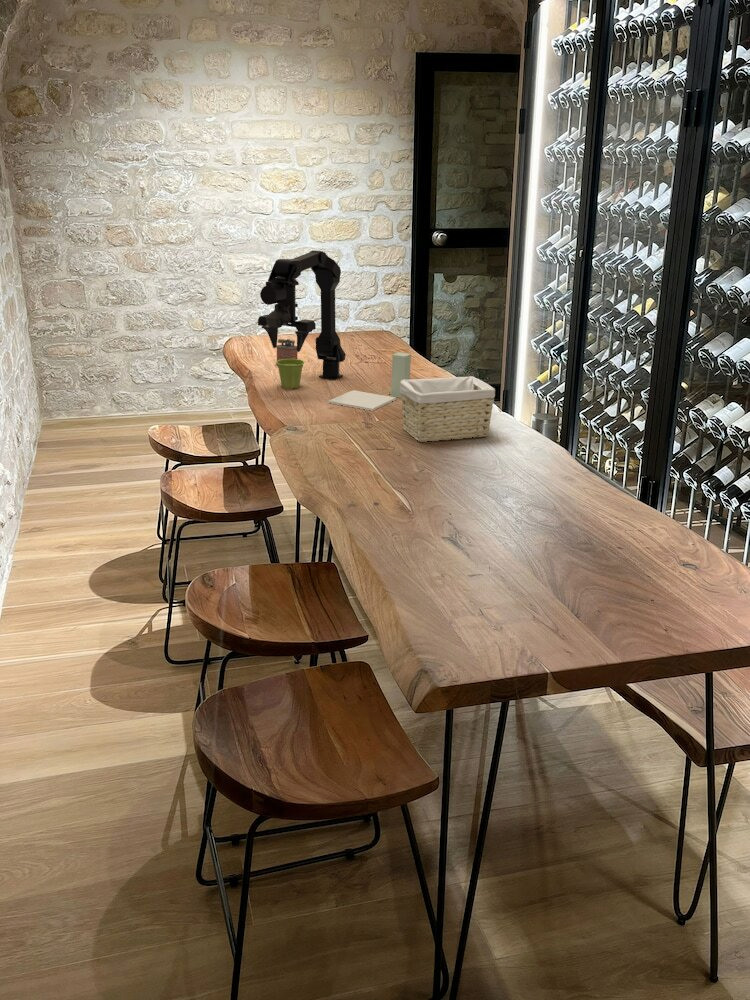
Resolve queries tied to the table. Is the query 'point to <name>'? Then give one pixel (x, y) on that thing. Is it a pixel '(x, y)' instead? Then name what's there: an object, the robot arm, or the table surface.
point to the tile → (362, 400)
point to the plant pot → (290, 372)
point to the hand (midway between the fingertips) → (286, 349)
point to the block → (399, 372)
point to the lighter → (286, 350)
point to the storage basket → (446, 408)
